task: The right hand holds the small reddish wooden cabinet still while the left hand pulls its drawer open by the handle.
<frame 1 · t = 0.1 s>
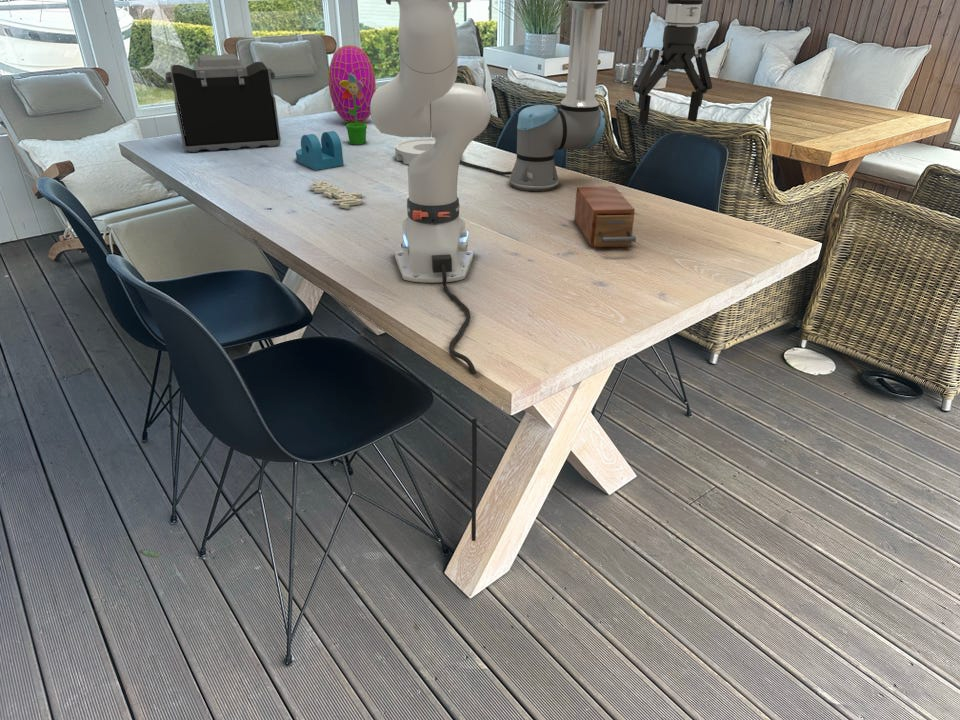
left hand: (430, 23, 166), 48 cm above the table, tool pointing down, fingers open, 8 cm apart
right hand: (667, 122, 166), 28 cm above the table, tool pointing down, fingers open, 13 cm apart
decorative sign: (338, 195, 205), on the table
drawer: (607, 222, 172), point 5 cm above the table, slide at 0.8 cm
ashtray: (428, 158, 244), on the table
decorative egg: (355, 123, 293), on the table
potted flower: (358, 143, 262), on the table
cabinet: (600, 233, 179), on the table
camera mount: (317, 162, 237), on the table
electronic device: (232, 143, 259), on the table
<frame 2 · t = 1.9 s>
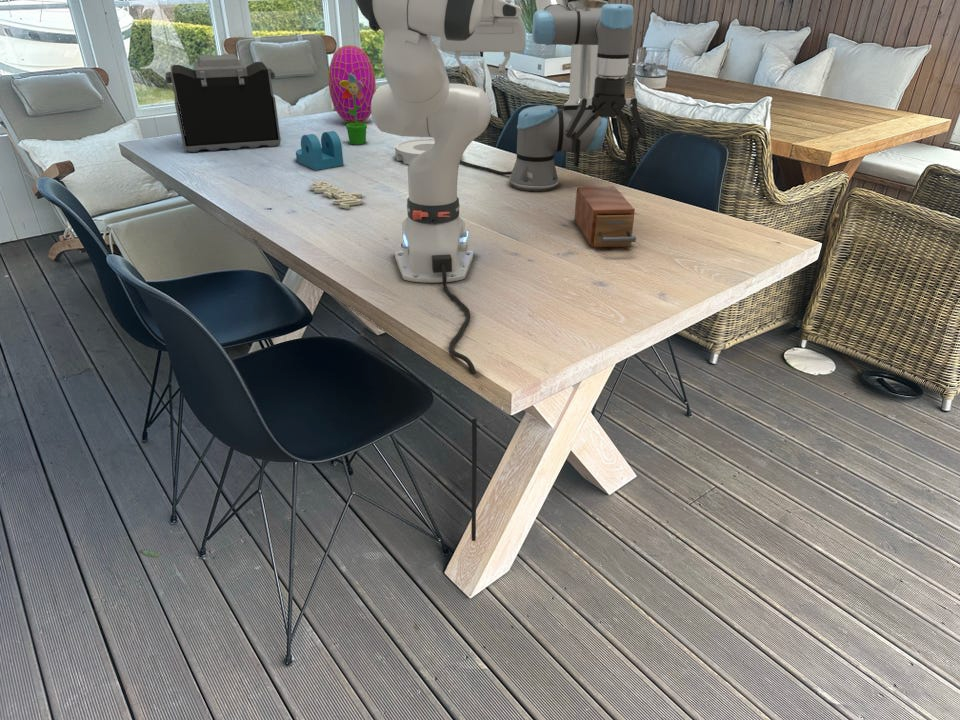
left hand: (482, 72, 165), 38 cm above the table, tool pointing down, fingers open, 8 cm apart
right hand: (602, 165, 176), 16 cm above the table, tool pointing down, fingers open, 13 cm apart
nothing on the table moved.
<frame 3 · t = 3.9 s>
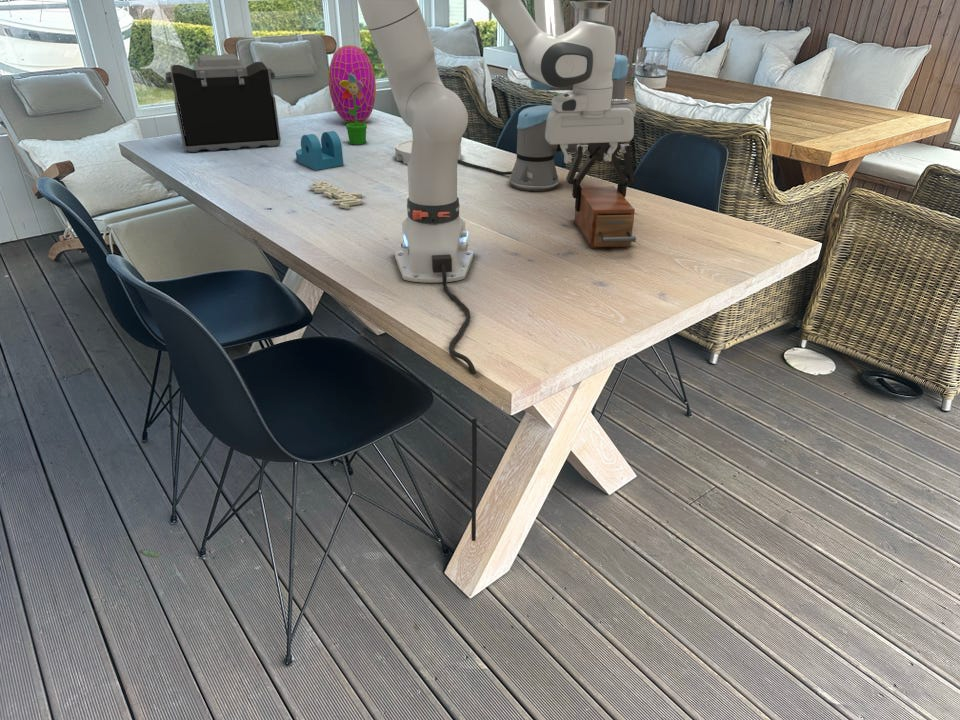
left hand: (587, 161, 161), 21 cm above the table, tool pointing down, fingers open, 8 cm apart
right hand: (597, 209, 182), 5 cm above the table, tool pointing down, fingers closed on cabinet, 10 cm apart
cabinet: (600, 233, 179), on the table, touching right hand
everything else where it was.
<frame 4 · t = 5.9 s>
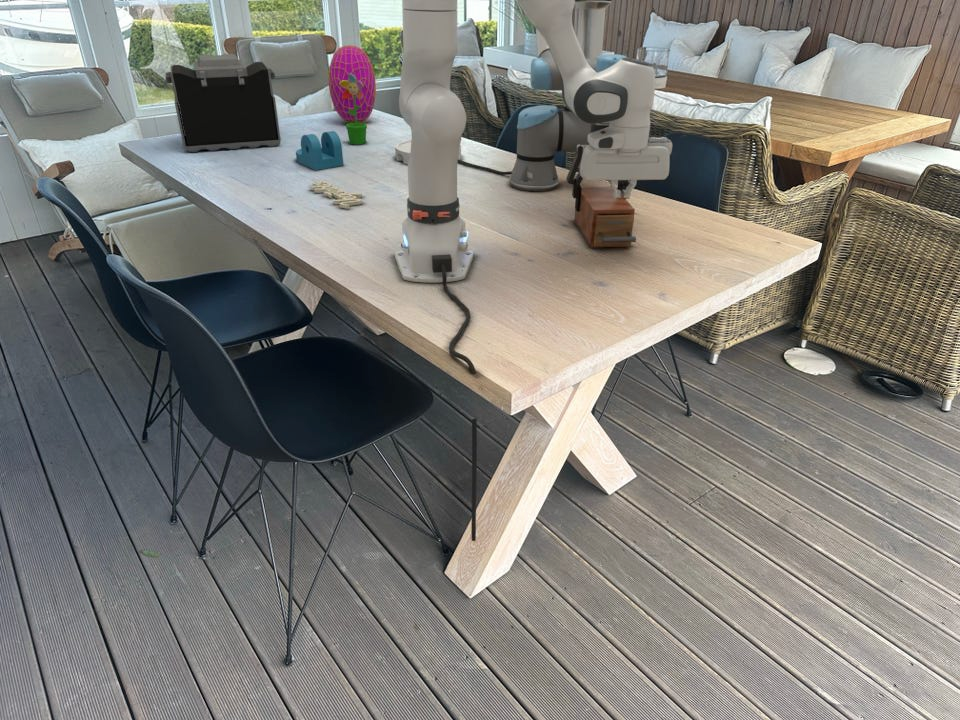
left hand: (621, 198, 160), 14 cm above the table, tool pointing down, fingers closed
right hand: (597, 209, 182), 5 cm above the table, tool pointing down, fingers closed on cabinet, 10 cm apart
cabinet: (600, 233, 179), on the table, touching right hand
everything else where it was.
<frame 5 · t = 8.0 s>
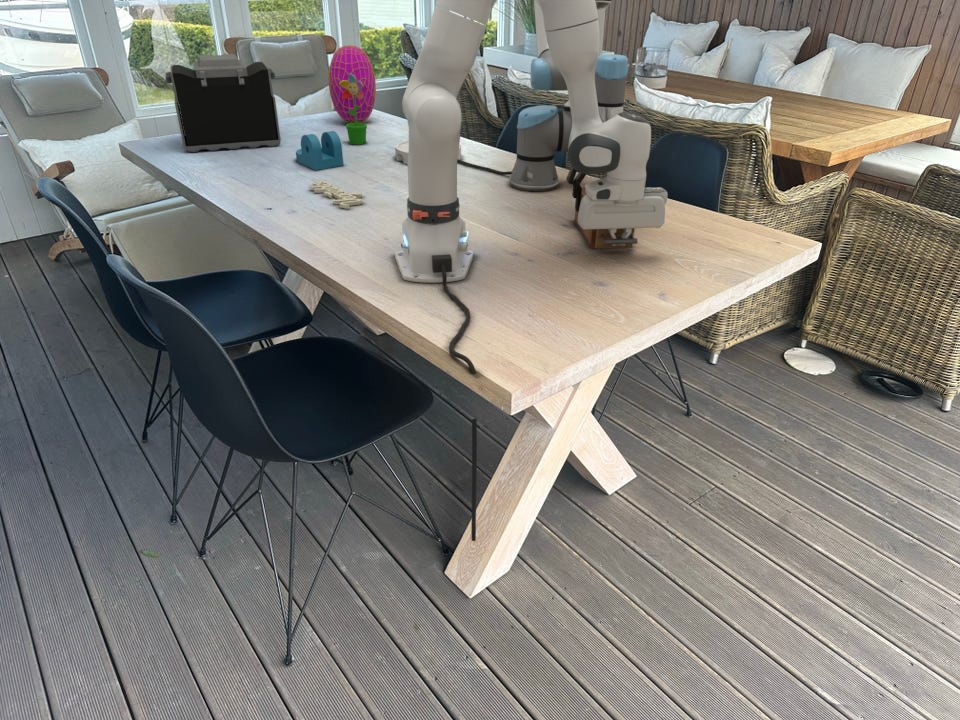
left hand: (618, 245, 164), 3 cm above the table, tool pointing down, fingers closed, pressing on drawer
right hand: (597, 209, 182), 5 cm above the table, tool pointing down, fingers closed on cabinet, 10 cm apart
drawer: (609, 224, 171), point 5 cm above the table, slide at 2.1 cm, touching left hand
cabinet: (600, 233, 179), on the table, touching right hand
everything else where it was.
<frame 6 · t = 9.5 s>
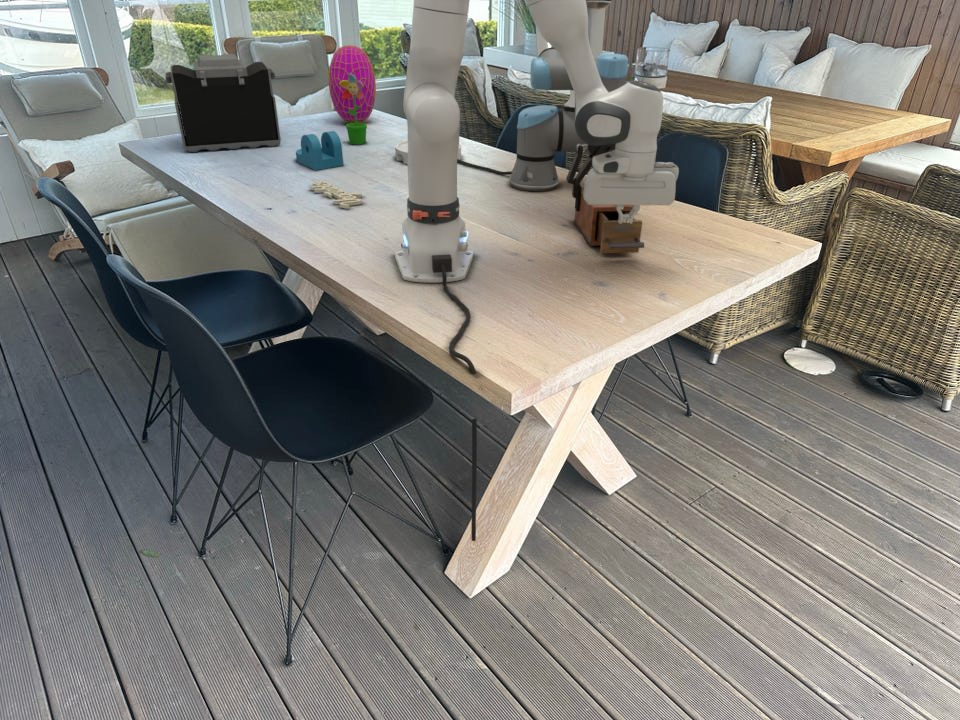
left hand: (625, 223, 156), 10 cm above the table, tool pointing down, fingers closed
right hand: (597, 209, 181), 5 cm above the table, tool pointing down, fingers closed on cabinet, 10 cm apart
drawer: (614, 228, 166), point 6 cm above the table, slide at 7.4 cm
cabinet: (600, 232, 179), on the table, touching right hand
everything else where it was.
when the right hand's fingers open (5 cm above the table, at t = 10.6 s): cabinet stays where it is, on the table.
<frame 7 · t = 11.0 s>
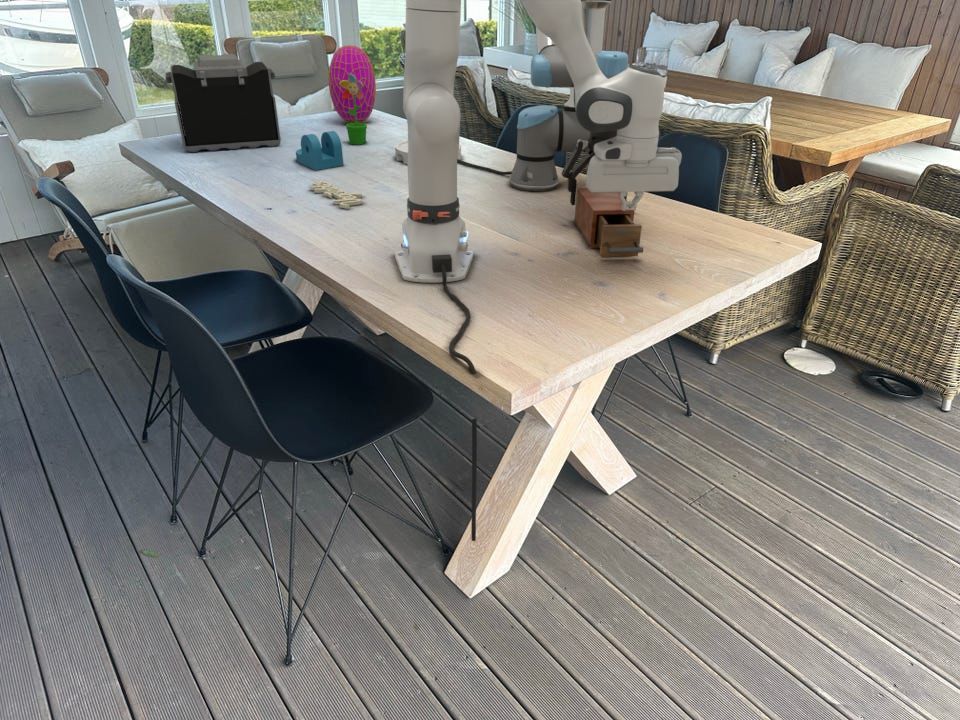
left hand: (628, 210, 155), 13 cm above the table, tool pointing down, fingers closed
right hand: (597, 203, 181), 6 cm above the table, tool pointing down, fingers open, 13 cm apart
cabinet: (600, 233, 179), on the table
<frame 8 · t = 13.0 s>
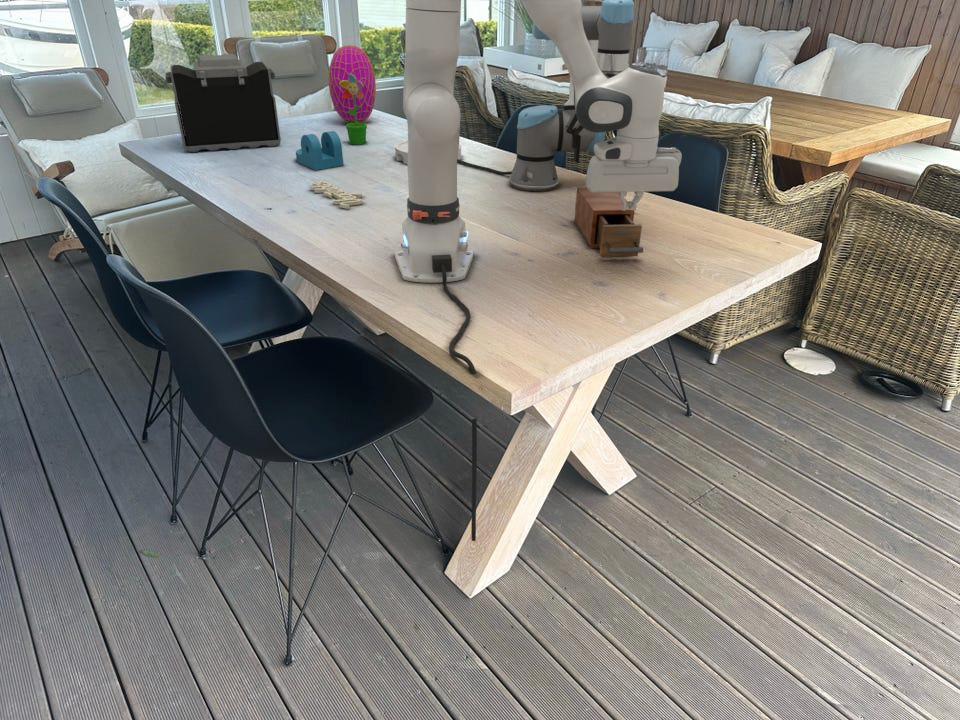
left hand: (628, 210, 155), 13 cm above the table, tool pointing down, fingers closed
right hand: (602, 161, 175), 17 cm above the table, tool pointing down, fingers open, 13 cm apart
nothing on the table moved.
at the end: drawer slide at 7.3 cm; cabinet tilted 0°; cabinet never tilted more than 3° during the clip; cabinet moved 0.4 cm from its start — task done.
